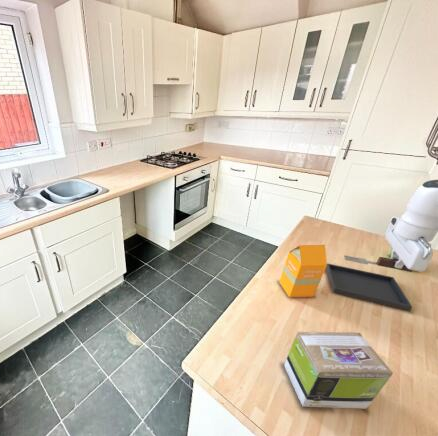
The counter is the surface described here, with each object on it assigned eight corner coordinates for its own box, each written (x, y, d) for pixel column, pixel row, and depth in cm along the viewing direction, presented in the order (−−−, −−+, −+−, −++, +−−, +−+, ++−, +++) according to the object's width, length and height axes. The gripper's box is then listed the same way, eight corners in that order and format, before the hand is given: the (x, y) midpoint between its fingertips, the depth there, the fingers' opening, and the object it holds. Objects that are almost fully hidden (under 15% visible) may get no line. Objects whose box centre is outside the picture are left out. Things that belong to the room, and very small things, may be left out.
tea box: (338, 366, 65) (361, 331, 58) (366, 410, 56) (397, 374, 49) (282, 365, 66) (297, 329, 59) (301, 408, 57) (321, 372, 50)
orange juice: (313, 296, 87) (333, 251, 77) (289, 297, 87) (305, 252, 77) (301, 281, 94) (318, 238, 84) (278, 281, 94) (292, 238, 84)
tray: (391, 281, 93) (393, 277, 92) (409, 311, 81) (412, 307, 80) (325, 267, 101) (326, 263, 100) (333, 292, 88) (334, 288, 87)
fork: (408, 268, 83) (412, 261, 82) (412, 273, 81) (416, 266, 80) (343, 255, 90) (346, 249, 89) (345, 260, 88) (348, 254, 86)
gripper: (448, 250, 67) (422, 287, 74) (413, 217, 83) (394, 250, 90) (418, 245, 69) (396, 281, 76) (389, 214, 86) (373, 246, 92)
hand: (395, 264), depth 83 cm, fingers closed on fork
